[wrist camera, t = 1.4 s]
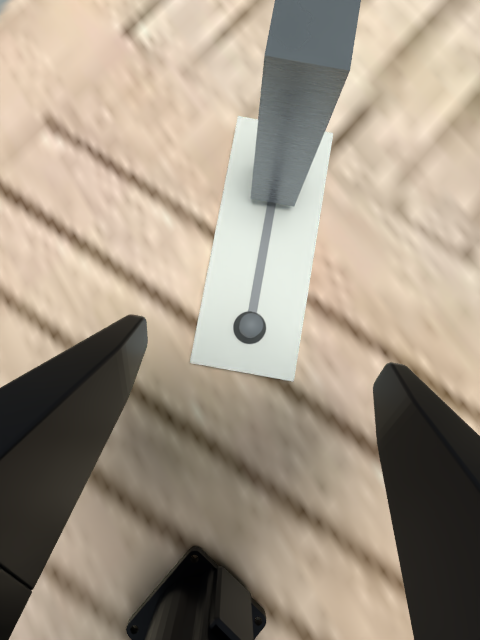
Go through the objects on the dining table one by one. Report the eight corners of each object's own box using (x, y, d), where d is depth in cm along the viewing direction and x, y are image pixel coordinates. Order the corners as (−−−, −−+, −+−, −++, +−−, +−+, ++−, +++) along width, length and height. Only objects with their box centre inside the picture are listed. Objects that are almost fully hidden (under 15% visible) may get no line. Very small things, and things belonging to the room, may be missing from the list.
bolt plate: (290, 379, 21) (301, 385, 18) (192, 361, 21) (184, 364, 18) (328, 143, 23) (344, 106, 20) (238, 126, 23) (238, 87, 20)
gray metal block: (292, 210, 21) (349, 70, 11) (249, 203, 21) (264, 55, 11) (299, 170, 21) (361, -5, 11) (257, 163, 21) (278, -20, 11)
